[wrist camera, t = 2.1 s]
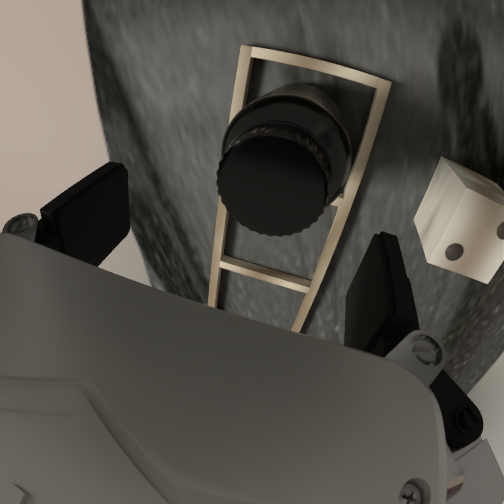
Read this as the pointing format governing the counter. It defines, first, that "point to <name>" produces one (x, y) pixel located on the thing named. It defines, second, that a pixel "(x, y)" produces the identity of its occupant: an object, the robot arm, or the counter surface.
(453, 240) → the die
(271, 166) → the supplement bottle
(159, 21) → the counter surface
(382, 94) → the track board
